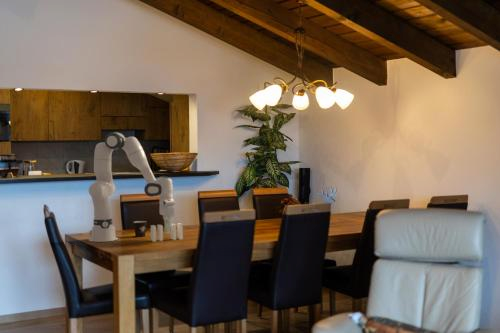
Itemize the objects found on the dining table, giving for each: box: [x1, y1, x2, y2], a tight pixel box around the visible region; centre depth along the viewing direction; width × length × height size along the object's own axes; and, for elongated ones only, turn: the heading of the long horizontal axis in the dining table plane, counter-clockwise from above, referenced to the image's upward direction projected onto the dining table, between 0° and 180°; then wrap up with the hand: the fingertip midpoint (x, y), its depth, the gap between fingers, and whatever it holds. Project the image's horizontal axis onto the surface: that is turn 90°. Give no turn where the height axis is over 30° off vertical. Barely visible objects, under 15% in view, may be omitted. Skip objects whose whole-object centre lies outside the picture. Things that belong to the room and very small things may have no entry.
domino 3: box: [163, 217, 171, 235], centre depth 440 cm, size 5×2×10 cm, turn 25°
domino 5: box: [176, 222, 184, 240], centre depth 444 cm, size 5×2×10 cm, turn 25°
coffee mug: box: [133, 220, 151, 238], centre depth 459 cm, size 12×9×10 cm
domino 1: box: [150, 224, 157, 243], centre depth 436 cm, size 5×2×10 cm, turn 25°
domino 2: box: [156, 224, 164, 242], centre depth 438 cm, size 5×2×10 cm, turn 25°
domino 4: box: [170, 223, 177, 241], centre depth 442 cm, size 5×2×10 cm, turn 25°
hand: (167, 222), depth 440 cm, fingers closed on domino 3, 5 cm apart
